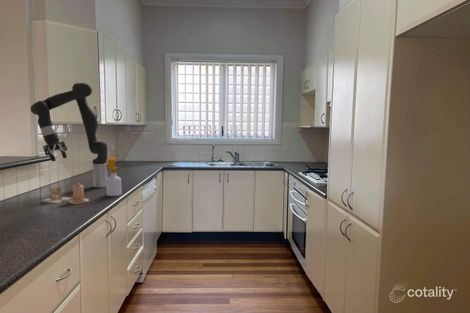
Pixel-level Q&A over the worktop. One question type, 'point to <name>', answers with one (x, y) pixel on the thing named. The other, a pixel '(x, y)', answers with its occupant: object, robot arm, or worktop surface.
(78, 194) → the lidded jar
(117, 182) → the soap bottle
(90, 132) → the robot arm
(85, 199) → the mat
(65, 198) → the white display stand
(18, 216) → the worktop surface
